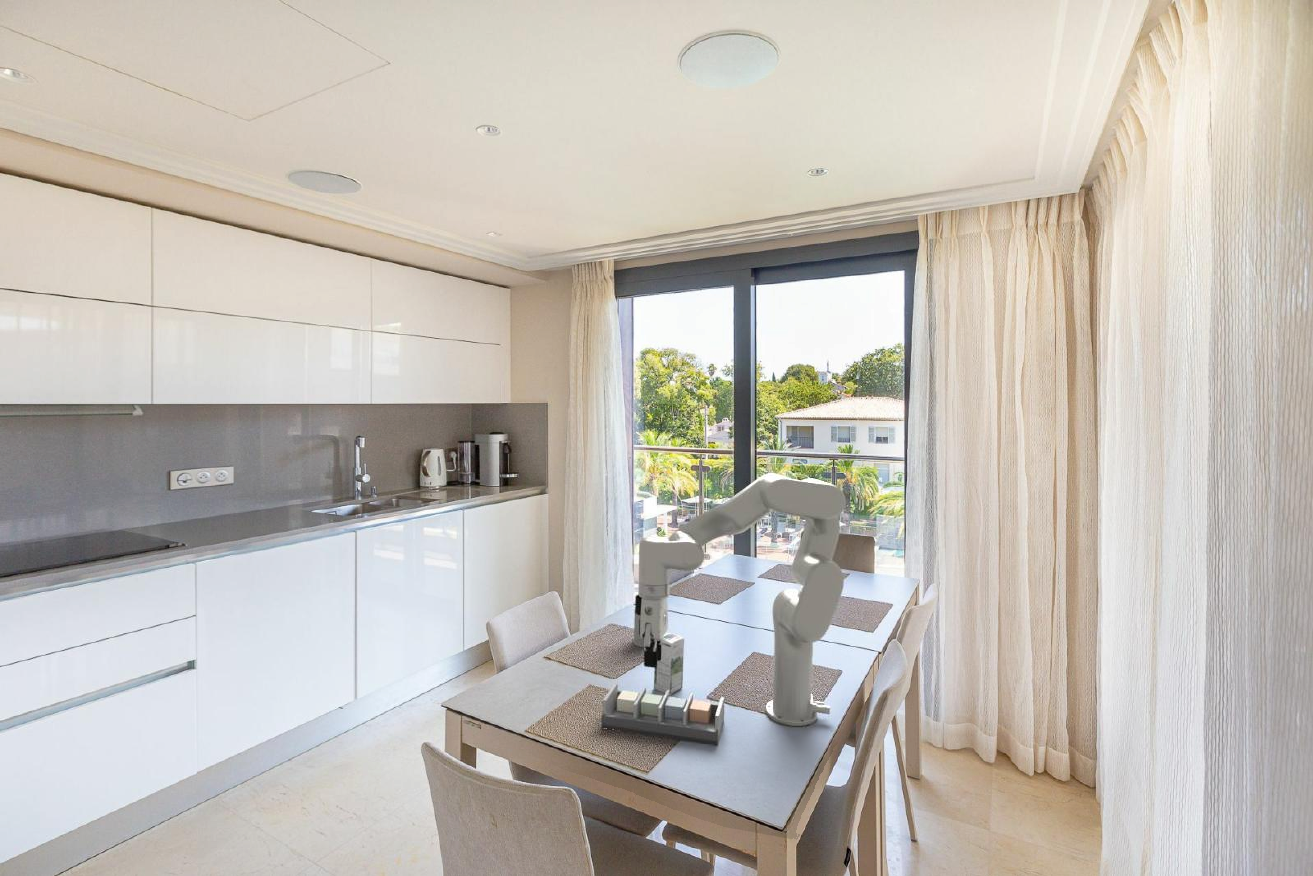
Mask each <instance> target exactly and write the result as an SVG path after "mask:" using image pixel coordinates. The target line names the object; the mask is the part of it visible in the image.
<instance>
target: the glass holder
mask: <svg viewBox="0 0 1313 876" xmlns="http://www.w3.org/2000/svg"><path fill="white" fill-rule="evenodd" d="M641 603H642V597H640V596H639V595H638V594H636V595H635V601H634V606H635V608H634V620H633V621H634V622H633V625H634V627H633V629H634V631H633V632H634V633H633V640H632V643H633V645H635V646H636V647H641V648H644V639H645V638H644V639H642V638H641V636H640V619H641Z"/></svg>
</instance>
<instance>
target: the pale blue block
mask: <svg viewBox="0 0 1313 876" xmlns="http://www.w3.org/2000/svg"><path fill="white" fill-rule="evenodd" d="M687 700H688V699H687V698H682V697H673V696H669V698H668V700H667V702H666V704H665V717H666V718H673V719H681V720H683V711H684V708H685V706H686V703H687Z"/></svg>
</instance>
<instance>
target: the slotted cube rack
mask: <svg viewBox="0 0 1313 876" xmlns="http://www.w3.org/2000/svg"><path fill="white" fill-rule="evenodd" d="M618 685H619V684H618V683H617V682H614V683H613V685H612V686H611V688H610V689H609V691H608V692H607V693H606V695H605V696H604V698H603V699H602V714H601V722H600V723H601V727H600V728H607V729H606V730H608V729H614V730H613V731H615V730H620V731H619V732H622V731H624V732H623V733H628V732H631V733H630V734H635V733H636V734H637V735H642V736H649V737H657V738H662V739H671V740H676V741H682V742H683V741H684V742H690V743H696V744H697V743H698V744H703V745H704V744H705V745H710V746H715V747H716V746H717V747H718V745H719V742H720V738H721V734H722V730H723V726H724V723H725V696H724V697H723V696H721V697H720V699H719V702H718V703H716V702H711V716H710V719H709V722H708V723H702V722H695V721H690V707H691V704H692V702H693V700H694V692H692V693H690V694H689V696H688V699H687V703H686V706H685V708H684V711H683V720H681V719H673V718H666V717H665V704H666V702H667V700H668V698H669V697H670V695H669V690H667V691H666V693H664V695H663V699H662V701H661V703H660V705H659V707H658V716H652V715H645V714H641V701H642V699H643V697H644V695H645V694H647V687H646V686H643V688H642V690H641V691H640V692H638V693H639V696H638V698H637V700H636V701H635V703H634V713H631V712H624V711H617V698H618V696H619V695H620V693H621V692H622V690H618V689H619V688H618Z"/></svg>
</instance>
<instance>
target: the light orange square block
mask: <svg viewBox="0 0 1313 876" xmlns="http://www.w3.org/2000/svg"><path fill="white" fill-rule="evenodd" d="M711 703H712V702H711V701H704V700H697V699H693V702H692V704H691V707H690V721H695V722H702V723H708V722H709V719H710V716H711Z"/></svg>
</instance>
